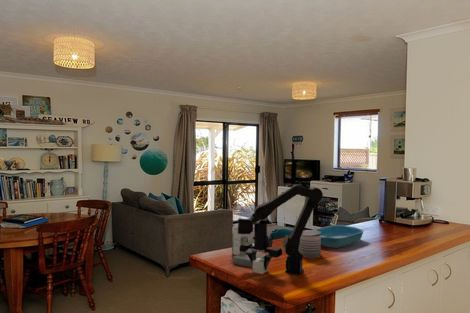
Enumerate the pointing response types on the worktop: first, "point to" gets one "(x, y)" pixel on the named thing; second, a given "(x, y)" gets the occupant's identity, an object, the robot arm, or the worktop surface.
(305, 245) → the can
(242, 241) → the syrup box
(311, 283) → the worktop surface
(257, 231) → the robot arm
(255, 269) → the cube
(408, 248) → the worktop surface
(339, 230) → the casserole dish
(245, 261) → the plinth
